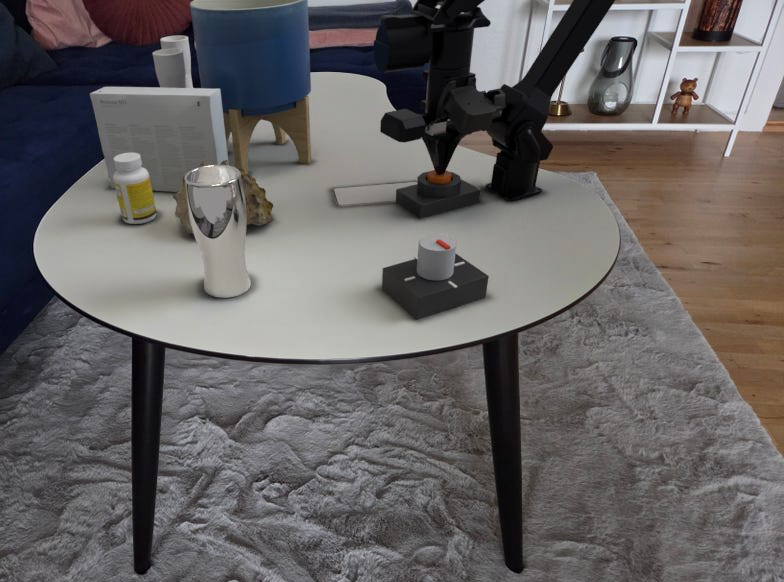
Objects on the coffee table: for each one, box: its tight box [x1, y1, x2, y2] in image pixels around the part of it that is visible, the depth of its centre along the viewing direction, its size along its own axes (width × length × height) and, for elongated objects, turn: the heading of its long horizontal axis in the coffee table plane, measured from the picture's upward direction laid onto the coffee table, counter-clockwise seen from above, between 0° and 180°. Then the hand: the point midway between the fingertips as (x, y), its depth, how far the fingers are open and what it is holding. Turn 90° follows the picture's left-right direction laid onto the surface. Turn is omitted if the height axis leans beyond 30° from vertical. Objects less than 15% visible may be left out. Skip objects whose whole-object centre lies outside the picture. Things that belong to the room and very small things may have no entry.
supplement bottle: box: [113, 153, 157, 225], centre depth 98 cm, size 5×5×10 cm
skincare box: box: [89, 86, 230, 193], centre depth 106 cm, size 21×5×16 cm, turn 75°
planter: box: [189, 0, 312, 174], centre depth 111 cm, size 19×19×26 cm
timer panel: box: [381, 253, 490, 320], centre depth 78 cm, size 10×9×3 cm
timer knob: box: [417, 233, 457, 281], centre depth 76 cm, size 4×4×4 cm
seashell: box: [172, 159, 274, 235], centre depth 94 cm, size 11×14×10 cm
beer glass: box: [184, 164, 252, 299], centre depth 78 cm, size 7×7×15 cm
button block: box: [395, 170, 482, 220], centre depth 99 cm, size 11×7×4 cm, turn 116°
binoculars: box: [152, 35, 194, 88], centre depth 123 cm, size 17×5×18 cm, turn 4°
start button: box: [427, 169, 452, 184], centre depth 98 cm, size 4×4×2 cm
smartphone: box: [331, 180, 417, 208], centre depth 104 cm, size 7×1×15 cm
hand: (439, 173), depth 97 cm, fingers closed, pressing on start button
